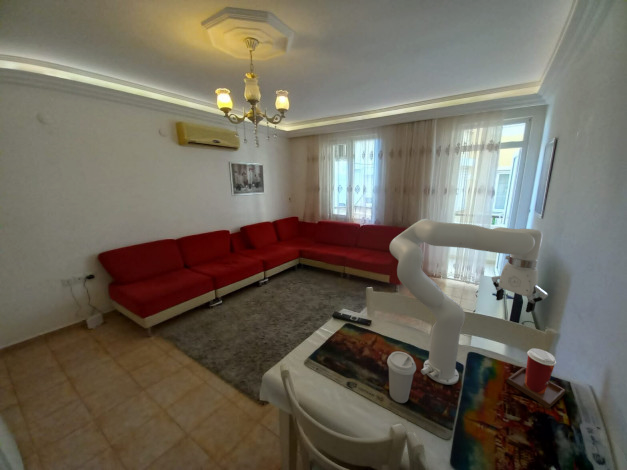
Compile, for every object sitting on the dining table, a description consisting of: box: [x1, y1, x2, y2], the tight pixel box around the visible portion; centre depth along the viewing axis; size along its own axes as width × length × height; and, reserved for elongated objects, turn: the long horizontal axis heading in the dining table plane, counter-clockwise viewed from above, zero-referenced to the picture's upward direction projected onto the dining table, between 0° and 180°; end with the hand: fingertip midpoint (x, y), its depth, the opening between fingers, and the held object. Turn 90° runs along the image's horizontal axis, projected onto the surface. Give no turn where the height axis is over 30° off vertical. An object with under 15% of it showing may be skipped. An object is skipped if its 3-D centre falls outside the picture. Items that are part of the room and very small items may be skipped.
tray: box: [506, 366, 566, 409], centre depth 88 cm, size 12×12×2 cm
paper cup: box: [525, 347, 557, 394], centre depth 86 cm, size 8×8×14 cm
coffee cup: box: [386, 351, 417, 404], centre depth 84 cm, size 10×10×15 cm
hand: (513, 305), depth 90 cm, fingers open, 9 cm apart
